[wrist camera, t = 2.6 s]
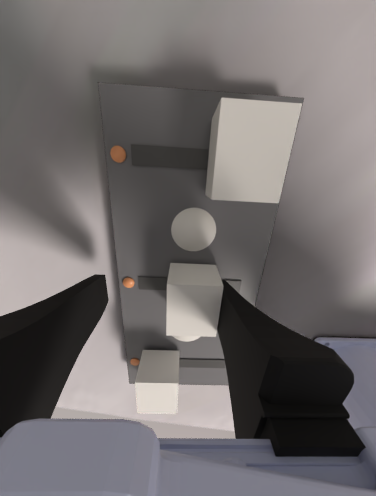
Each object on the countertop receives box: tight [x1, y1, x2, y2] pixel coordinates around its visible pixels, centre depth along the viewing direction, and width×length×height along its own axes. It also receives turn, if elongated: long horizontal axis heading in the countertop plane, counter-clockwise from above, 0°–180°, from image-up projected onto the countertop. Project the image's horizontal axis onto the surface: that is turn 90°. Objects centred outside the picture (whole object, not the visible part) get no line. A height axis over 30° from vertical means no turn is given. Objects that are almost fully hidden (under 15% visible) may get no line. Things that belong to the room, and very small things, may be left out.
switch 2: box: [166, 263, 224, 337], centre depth 11 cm, size 3×4×2 cm
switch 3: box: [205, 98, 302, 203], centre depth 8 cm, size 3×4×2 cm
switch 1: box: [135, 350, 180, 414], centre depth 14 cm, size 3×4×2 cm
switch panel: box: [98, 82, 304, 385], centre depth 13 cm, size 10×22×2 cm, turn 177°
